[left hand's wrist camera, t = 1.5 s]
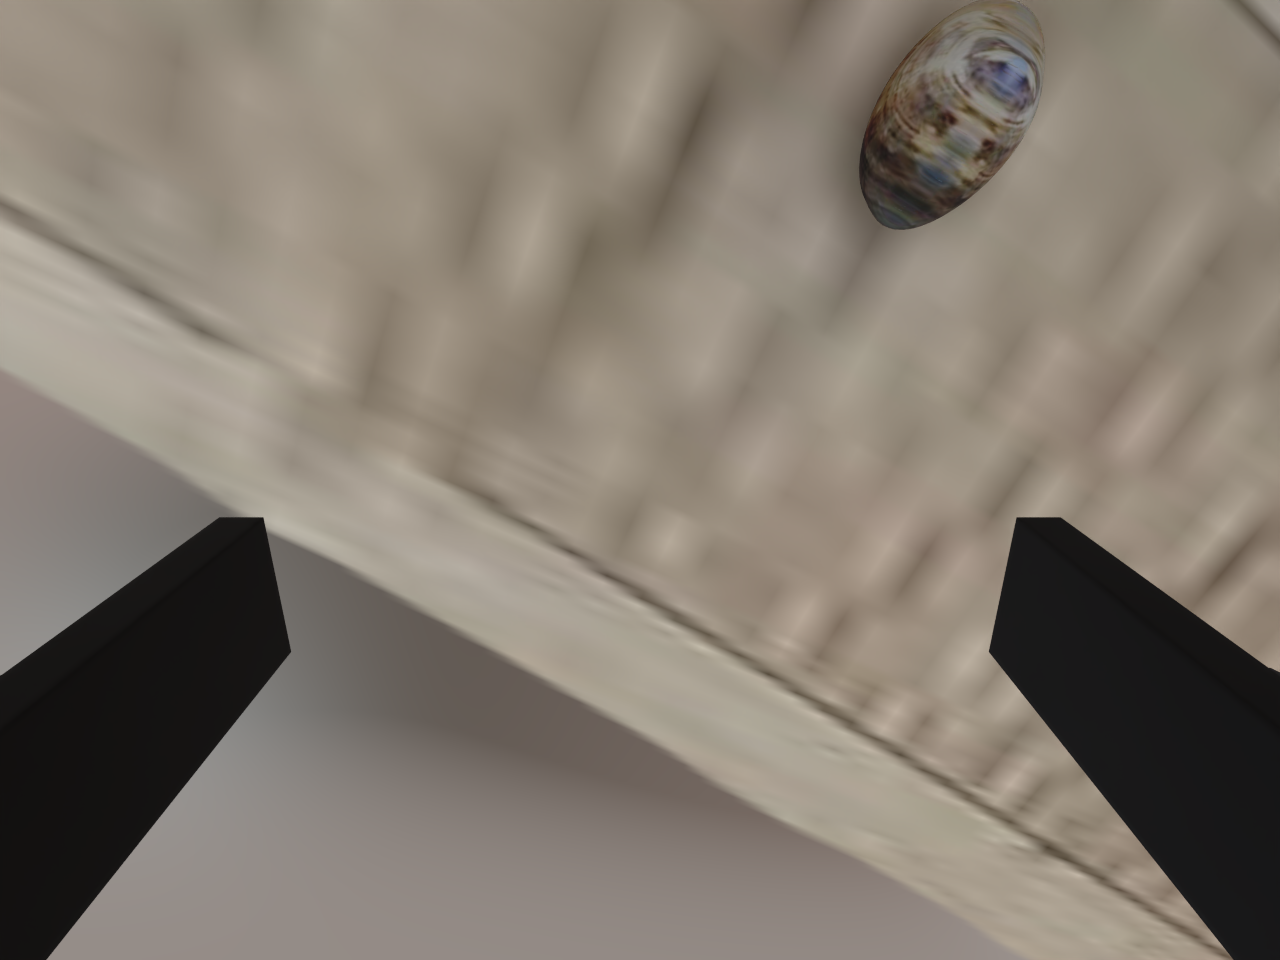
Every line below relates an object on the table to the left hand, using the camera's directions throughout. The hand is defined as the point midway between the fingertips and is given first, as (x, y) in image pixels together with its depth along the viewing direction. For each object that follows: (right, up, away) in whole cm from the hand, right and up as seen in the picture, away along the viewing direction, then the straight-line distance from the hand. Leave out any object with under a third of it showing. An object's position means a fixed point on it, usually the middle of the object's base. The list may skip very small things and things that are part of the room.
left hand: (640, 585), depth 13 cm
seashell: (+13, +18, +20) cm, 30 cm away
